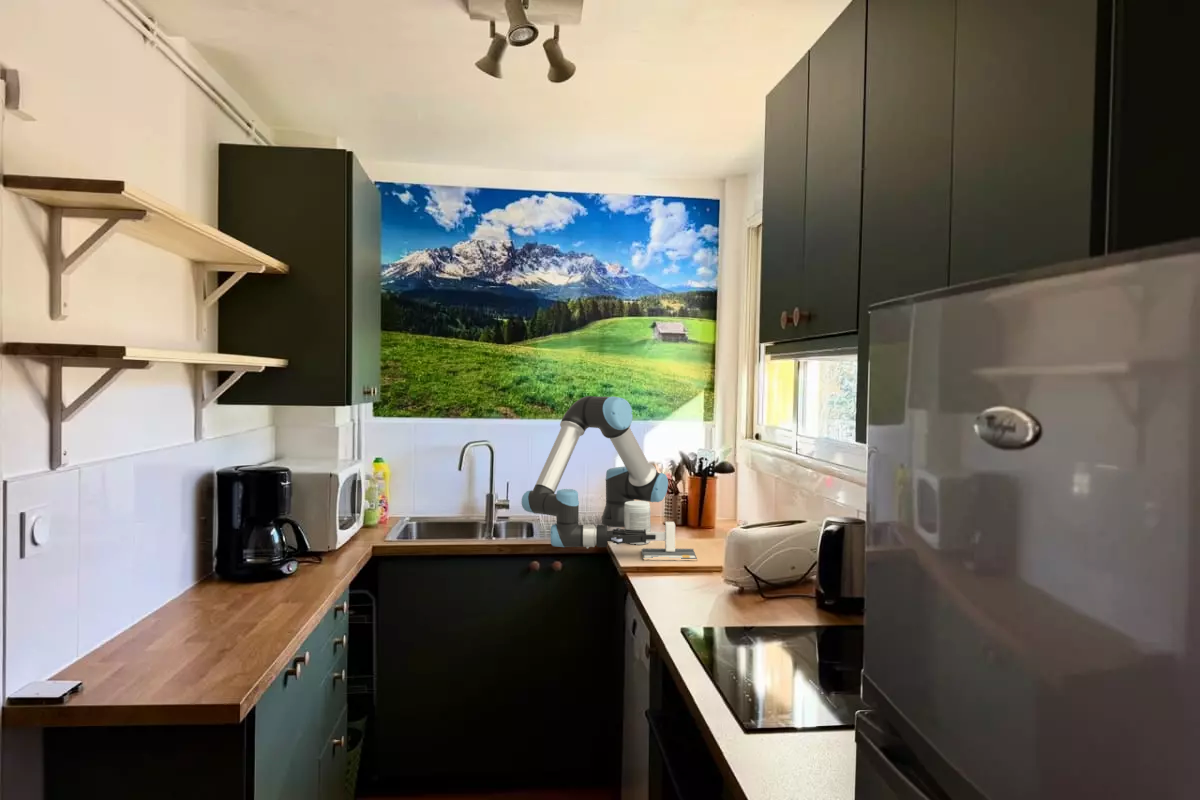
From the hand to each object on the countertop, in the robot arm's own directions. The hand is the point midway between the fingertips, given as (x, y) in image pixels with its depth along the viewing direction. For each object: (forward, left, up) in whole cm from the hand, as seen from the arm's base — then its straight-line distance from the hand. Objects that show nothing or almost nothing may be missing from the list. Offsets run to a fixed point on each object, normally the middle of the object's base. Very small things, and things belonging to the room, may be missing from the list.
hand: (665, 536), depth 248 cm
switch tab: (-1, +2, -7) cm, 7 cm away
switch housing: (-1, +1, -7) cm, 7 cm away
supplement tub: (-20, -9, -7) cm, 23 cm away
